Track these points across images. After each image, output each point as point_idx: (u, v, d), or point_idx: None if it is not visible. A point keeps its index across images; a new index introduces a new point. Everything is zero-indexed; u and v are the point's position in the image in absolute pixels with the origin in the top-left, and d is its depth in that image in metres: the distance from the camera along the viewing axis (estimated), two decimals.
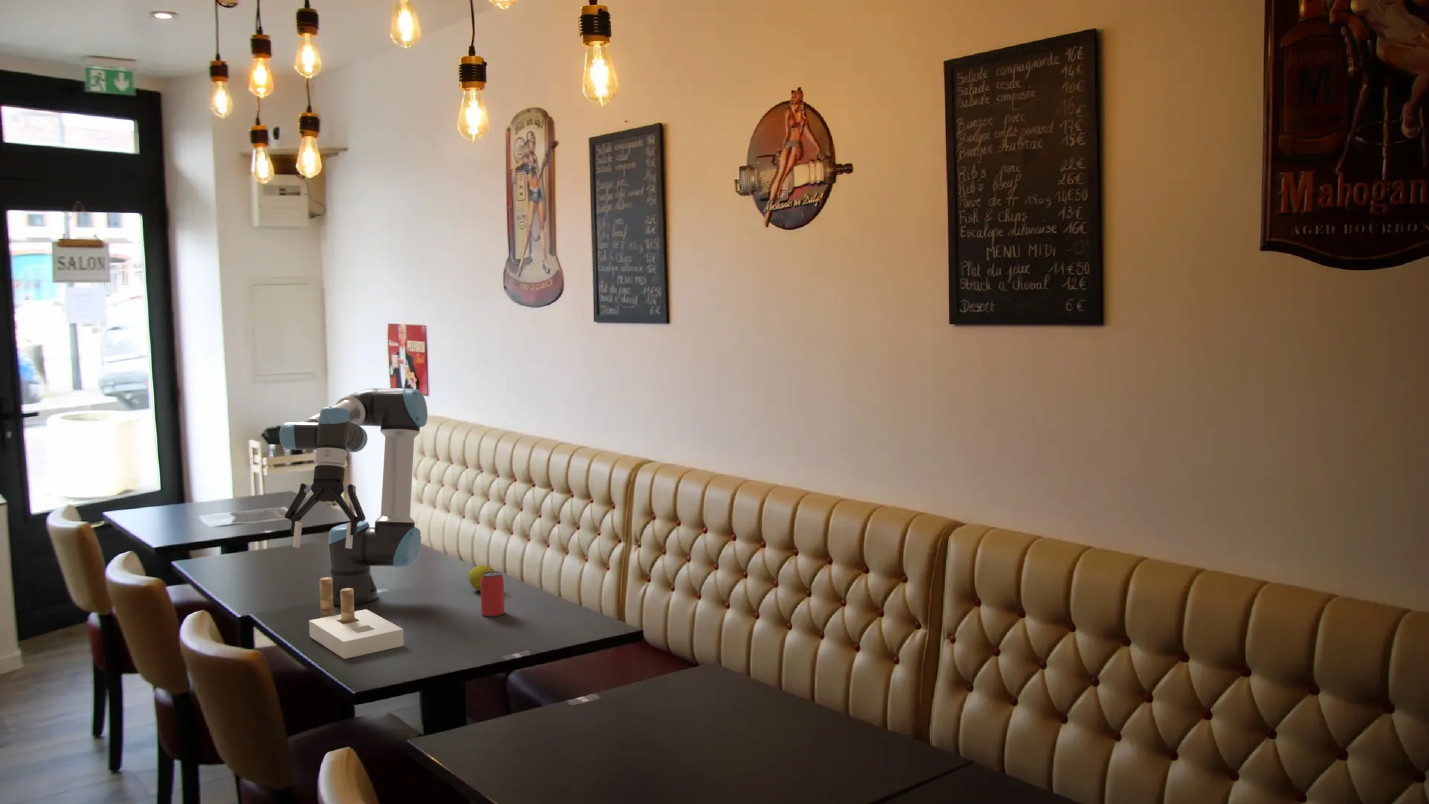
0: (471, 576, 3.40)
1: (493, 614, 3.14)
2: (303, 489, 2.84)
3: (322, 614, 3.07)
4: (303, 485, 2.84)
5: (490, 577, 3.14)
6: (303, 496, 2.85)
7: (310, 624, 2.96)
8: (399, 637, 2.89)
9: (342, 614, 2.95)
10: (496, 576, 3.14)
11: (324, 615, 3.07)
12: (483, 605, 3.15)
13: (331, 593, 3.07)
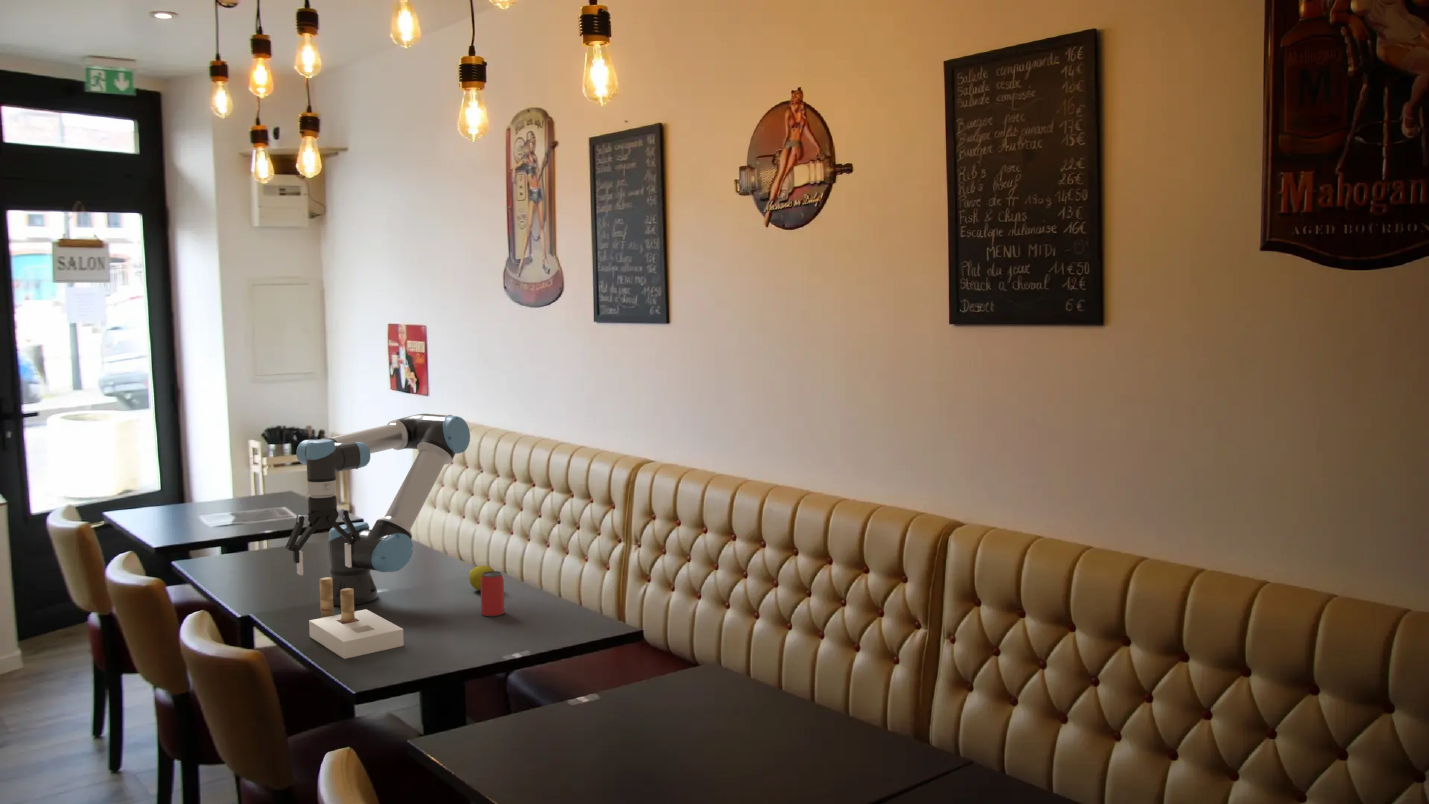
0: (471, 576, 3.40)
1: (493, 614, 3.14)
2: (303, 521, 3.01)
3: (322, 614, 3.07)
4: (302, 517, 3.00)
5: (490, 577, 3.14)
6: None
7: (310, 624, 2.96)
8: (399, 637, 2.89)
9: (342, 614, 2.95)
10: (496, 576, 3.14)
11: (324, 615, 3.07)
12: (483, 605, 3.15)
13: (331, 593, 3.07)
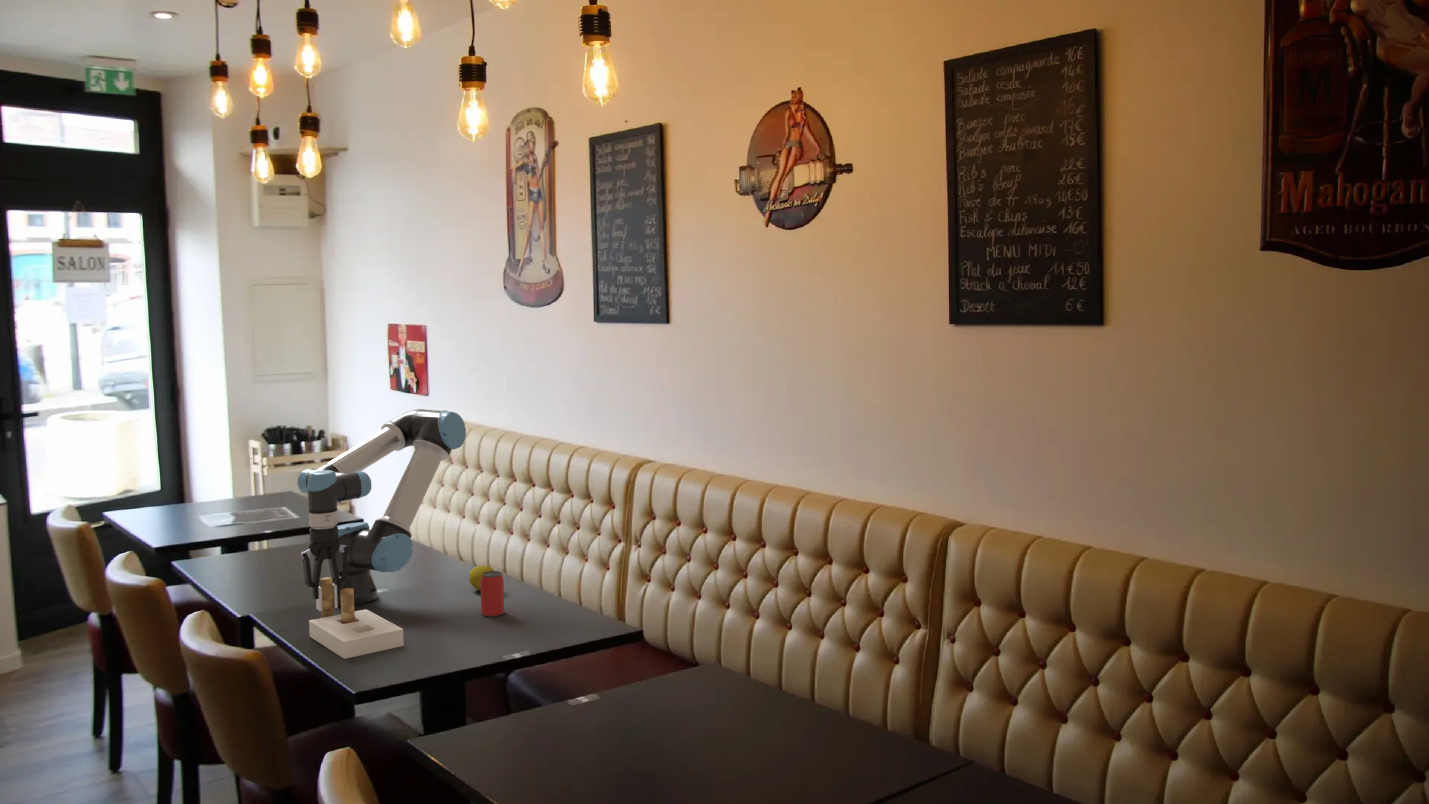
0: (471, 576, 3.40)
1: (493, 614, 3.14)
2: (307, 557, 3.02)
3: (322, 614, 3.07)
4: (305, 554, 3.02)
5: (490, 577, 3.14)
6: None
7: (310, 624, 2.96)
8: (399, 637, 2.89)
9: (342, 614, 2.95)
10: (496, 576, 3.14)
11: (324, 615, 3.07)
12: (483, 605, 3.15)
13: (331, 593, 3.07)
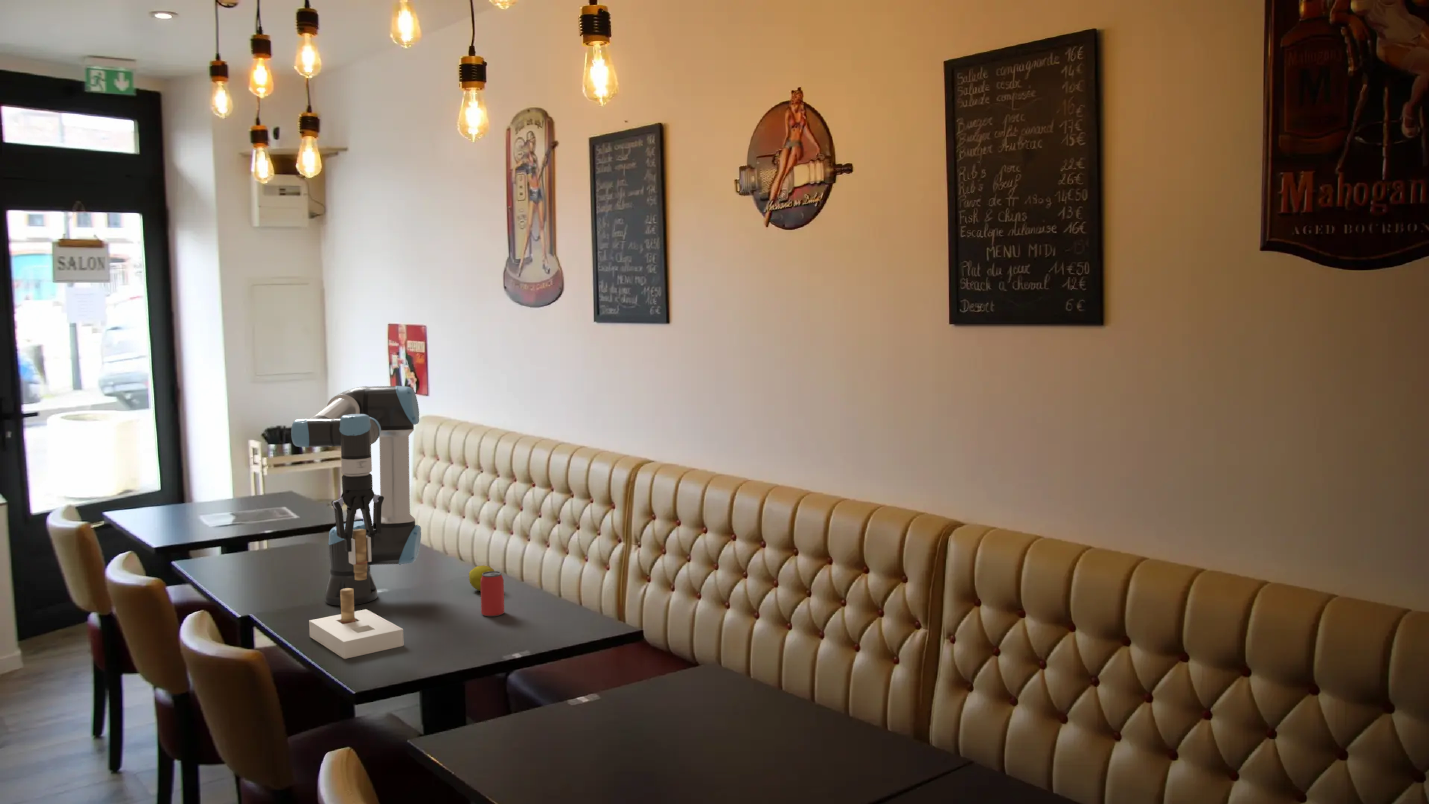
0: (471, 576, 3.40)
1: (493, 614, 3.14)
2: (340, 506, 2.81)
3: (355, 568, 2.86)
4: (338, 503, 2.81)
5: (490, 577, 3.14)
6: None
7: (310, 624, 2.96)
8: (399, 637, 2.89)
9: (342, 614, 2.95)
10: (496, 576, 3.14)
11: (358, 569, 2.86)
12: (483, 605, 3.15)
13: (365, 545, 2.86)
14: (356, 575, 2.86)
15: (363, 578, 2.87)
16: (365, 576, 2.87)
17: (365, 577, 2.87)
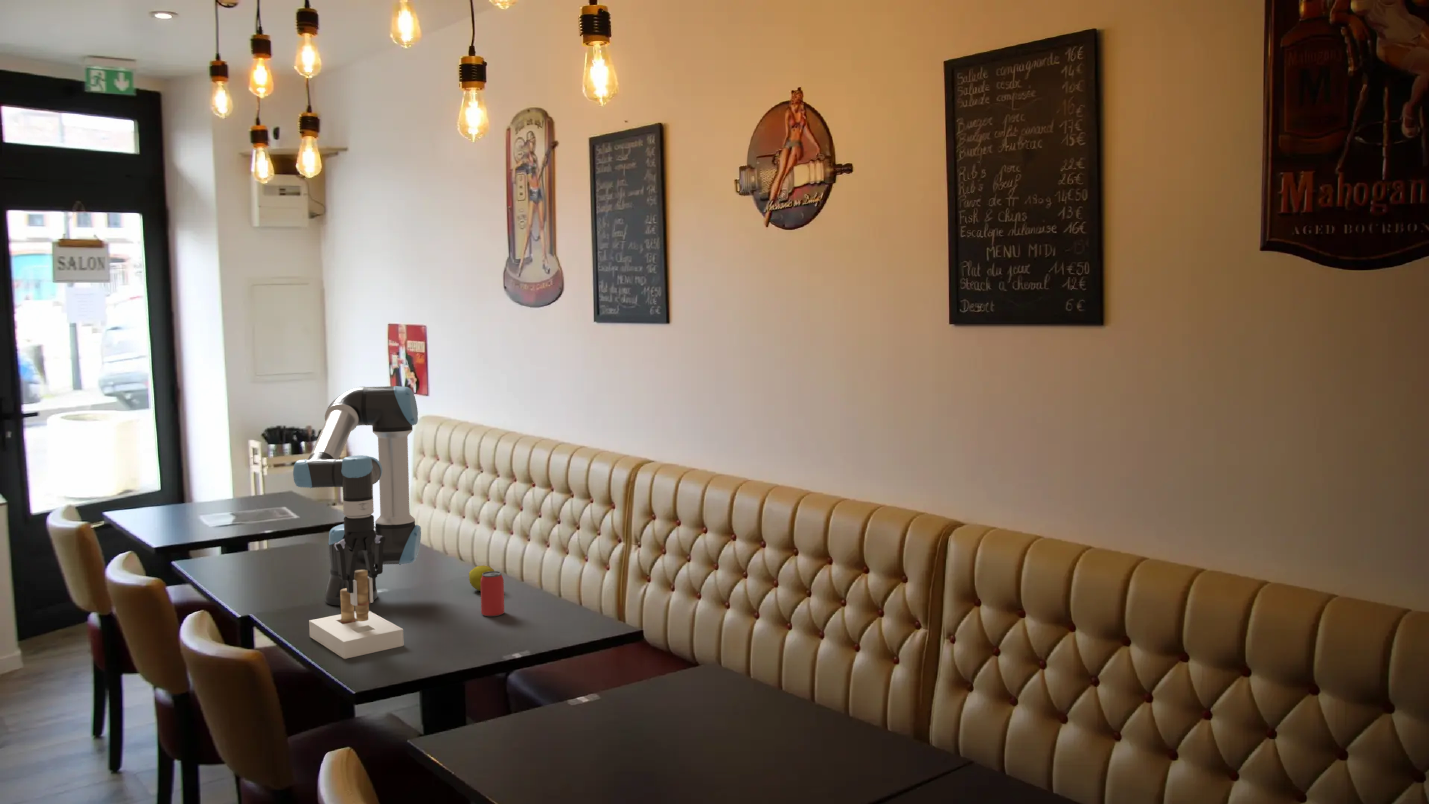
0: (471, 576, 3.40)
1: (493, 614, 3.14)
2: (342, 548, 2.82)
3: (357, 609, 2.87)
4: (339, 545, 2.82)
5: (490, 577, 3.14)
6: None
7: (310, 624, 2.96)
8: (399, 637, 2.89)
9: (342, 614, 2.95)
10: (496, 576, 3.14)
11: (359, 610, 2.87)
12: (483, 605, 3.15)
13: (366, 586, 2.87)
14: (358, 616, 2.87)
15: (365, 619, 2.88)
16: (367, 617, 2.88)
17: (367, 618, 2.88)
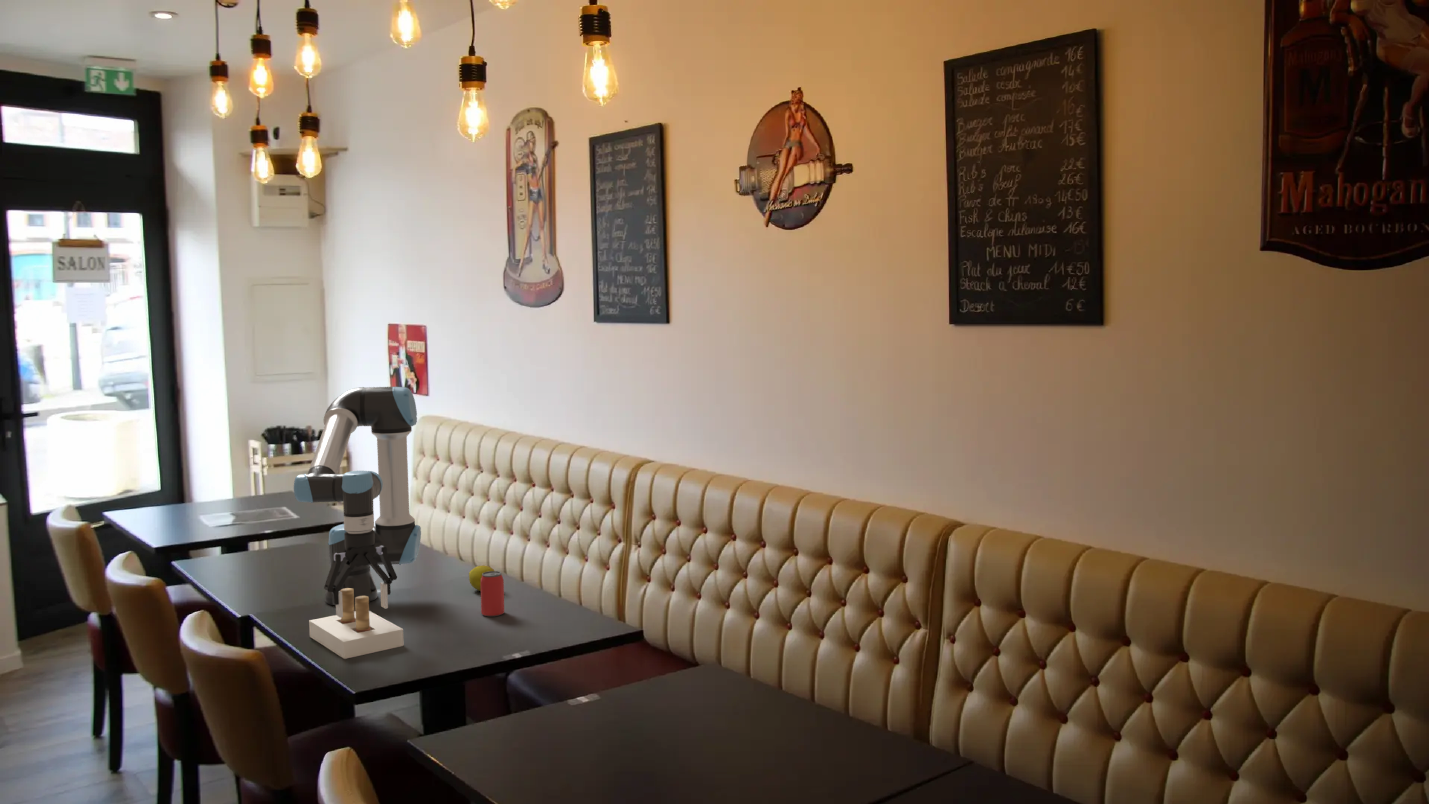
0: (471, 576, 3.40)
1: (493, 614, 3.14)
2: (340, 559, 2.82)
3: None
4: (339, 556, 2.82)
5: (490, 577, 3.14)
6: None
7: (310, 624, 2.96)
8: (399, 637, 2.89)
9: None
10: (496, 576, 3.14)
11: None
12: (483, 605, 3.15)
13: (367, 613, 2.88)
14: None
15: None
16: None
17: None
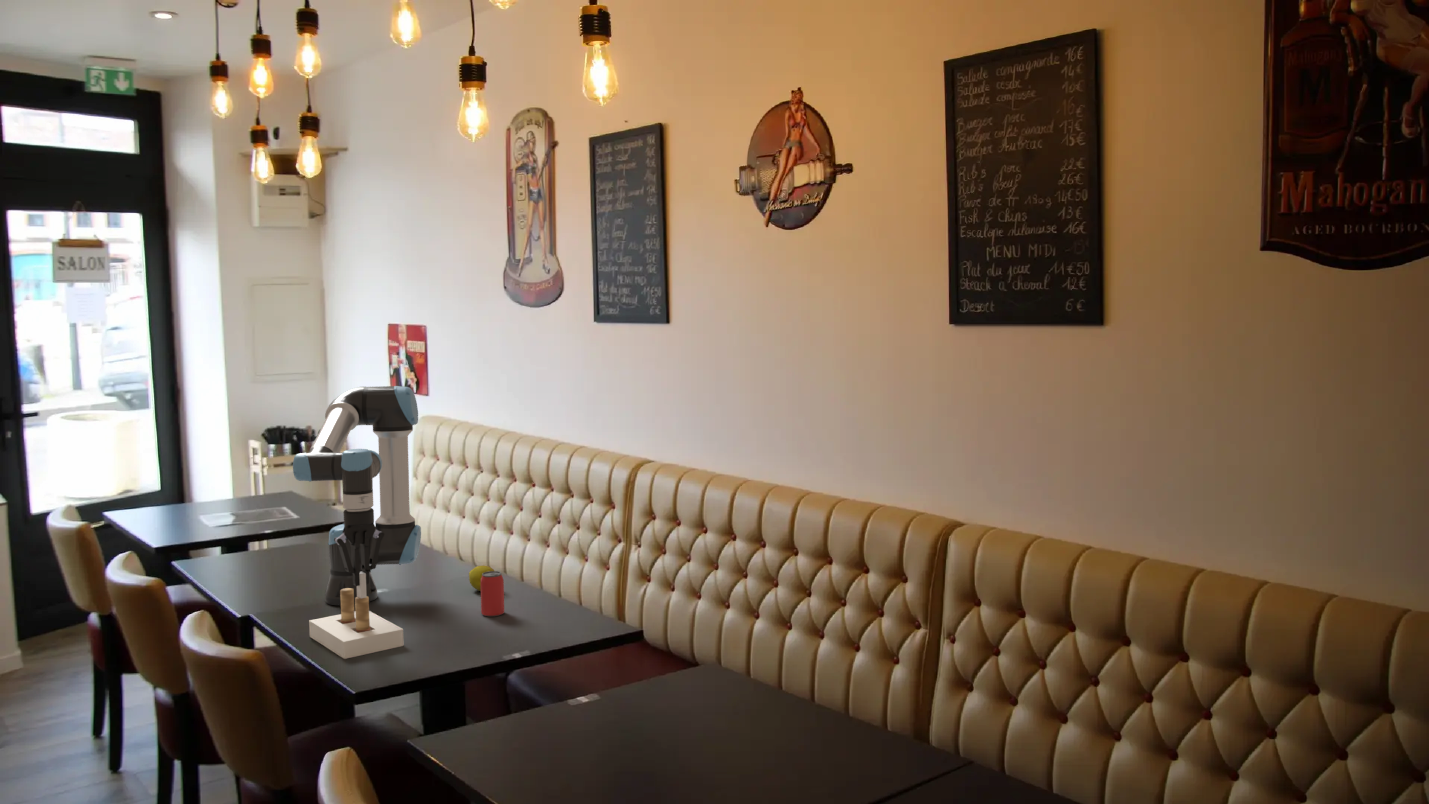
0: (471, 576, 3.40)
1: (493, 614, 3.14)
2: (343, 542, 2.83)
3: None
4: (340, 540, 2.82)
5: (490, 577, 3.14)
6: None
7: (310, 624, 2.96)
8: (399, 637, 2.89)
9: (342, 614, 2.95)
10: (496, 576, 3.14)
11: None
12: (483, 605, 3.15)
13: (367, 613, 2.88)
14: None
15: None
16: None
17: None
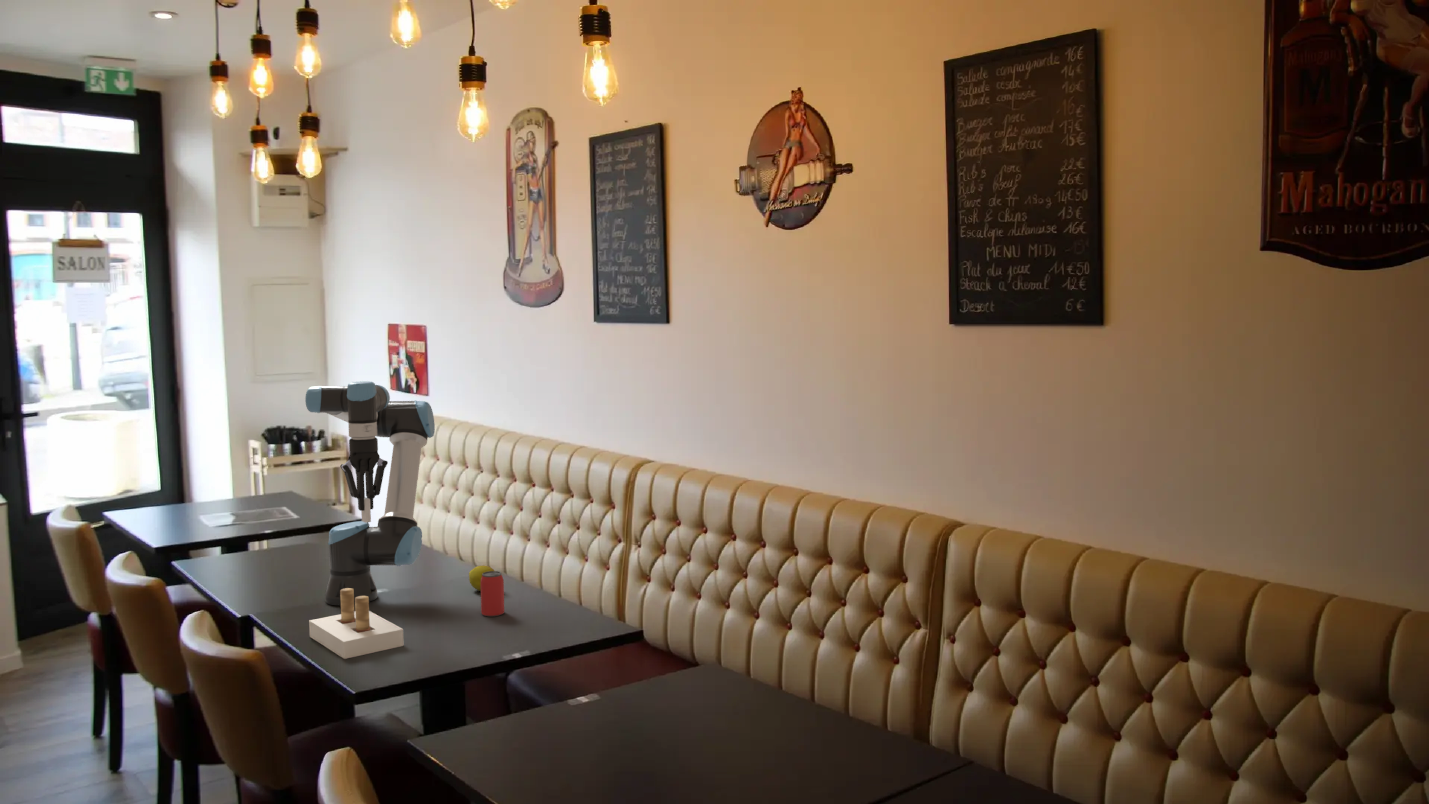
0: (471, 576, 3.40)
1: (493, 614, 3.14)
2: (349, 468, 3.00)
3: None
4: (346, 466, 2.99)
5: (490, 577, 3.14)
6: None
7: (310, 624, 2.96)
8: (399, 637, 2.89)
9: (342, 614, 2.95)
10: (496, 576, 3.14)
11: None
12: (483, 605, 3.15)
13: (367, 613, 2.88)
14: None
15: None
16: None
17: None
